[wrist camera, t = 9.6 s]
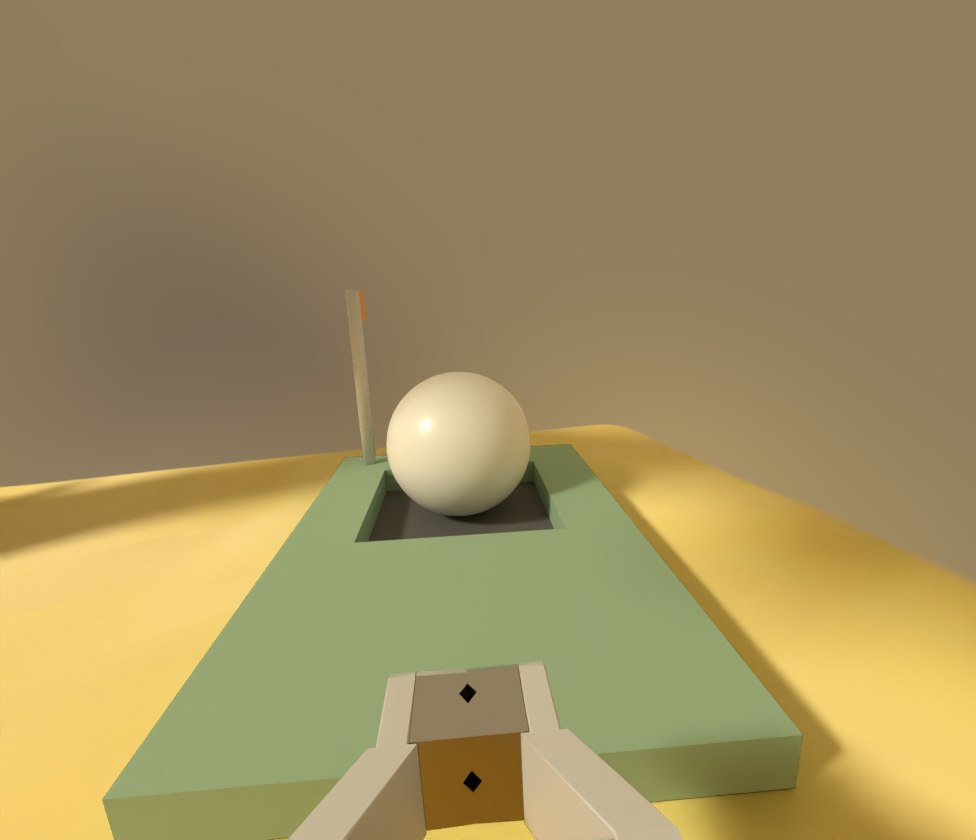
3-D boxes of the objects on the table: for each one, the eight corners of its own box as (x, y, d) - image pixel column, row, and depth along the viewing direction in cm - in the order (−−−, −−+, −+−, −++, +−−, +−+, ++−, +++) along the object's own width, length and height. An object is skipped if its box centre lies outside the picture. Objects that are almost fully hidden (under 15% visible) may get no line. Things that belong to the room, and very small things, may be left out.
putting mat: (795, 787, 15) (875, 232, 11) (118, 854, 14) (-58, 266, 10) (565, 458, 46) (565, 283, 42) (352, 471, 45) (331, 292, 41)
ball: (343, 387, 31) (369, 504, 36) (455, 442, 25) (466, 572, 31) (453, 337, 37) (461, 444, 42) (562, 372, 31) (556, 490, 37)
